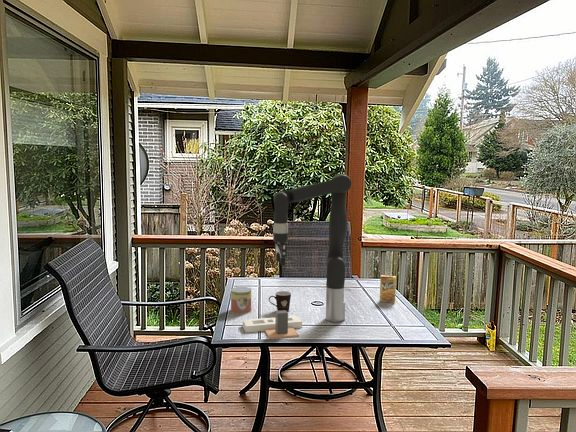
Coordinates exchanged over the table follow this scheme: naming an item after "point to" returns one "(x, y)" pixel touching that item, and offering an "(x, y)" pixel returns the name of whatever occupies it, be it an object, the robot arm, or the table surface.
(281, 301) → the coffee mug
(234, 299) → the canned food
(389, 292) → the candy box
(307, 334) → the table surface
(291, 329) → the mat
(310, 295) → the table surface
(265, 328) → the power strip
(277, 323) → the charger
